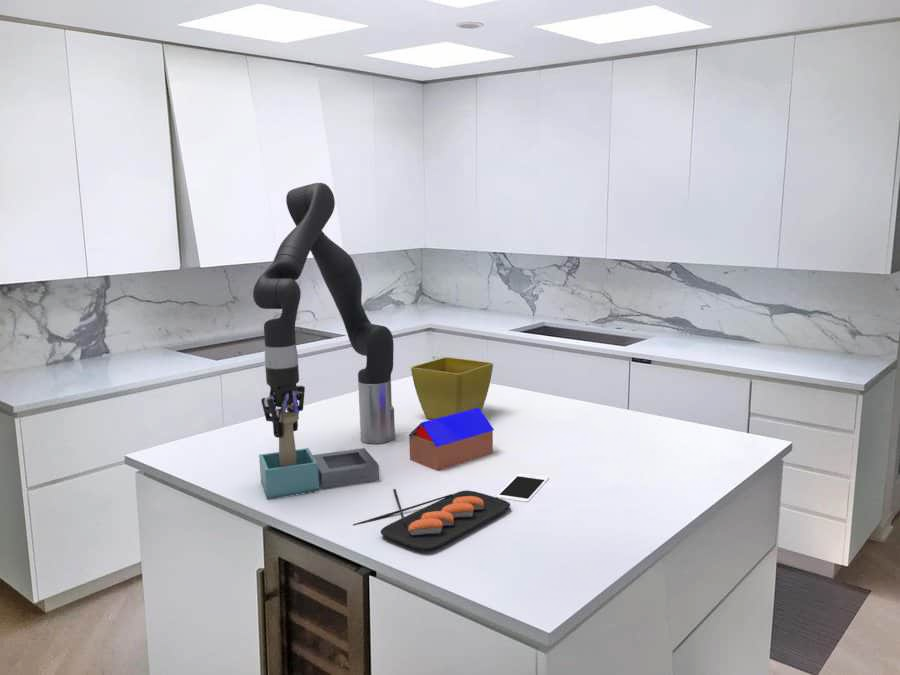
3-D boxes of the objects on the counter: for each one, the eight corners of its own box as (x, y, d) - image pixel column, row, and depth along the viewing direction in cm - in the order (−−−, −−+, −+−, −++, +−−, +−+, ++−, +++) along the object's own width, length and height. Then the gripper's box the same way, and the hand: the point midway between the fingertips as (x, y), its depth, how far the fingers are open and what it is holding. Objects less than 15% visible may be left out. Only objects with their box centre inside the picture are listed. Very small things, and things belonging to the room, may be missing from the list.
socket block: (365, 462, 197) (364, 448, 196) (379, 480, 184) (378, 465, 183) (311, 470, 192) (310, 455, 192) (322, 489, 179) (321, 473, 179)
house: (408, 460, 199) (406, 417, 196) (464, 443, 211) (463, 403, 209) (437, 472, 190) (436, 427, 188) (494, 453, 202) (494, 411, 200)
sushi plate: (427, 560, 144) (427, 541, 143) (324, 520, 163) (323, 503, 162) (516, 511, 166) (516, 494, 165) (415, 481, 185) (415, 466, 184)
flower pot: (446, 405, 250) (445, 356, 247) (495, 414, 239) (494, 362, 236) (410, 419, 235) (409, 367, 232) (460, 429, 224) (459, 374, 221)
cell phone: (549, 479, 183) (549, 477, 183) (527, 504, 169) (527, 501, 169) (518, 475, 187) (518, 473, 187) (495, 499, 172) (495, 496, 172)
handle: (295, 480, 178) (291, 418, 175) (271, 477, 180) (267, 416, 177) (305, 473, 182) (302, 413, 179) (283, 470, 184) (279, 411, 182)
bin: (309, 474, 189) (308, 448, 188) (319, 491, 178) (317, 463, 177) (260, 481, 185) (259, 454, 184) (267, 499, 174) (265, 470, 173)
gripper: (275, 371, 168) (280, 444, 171) (312, 358, 181) (316, 427, 184) (248, 369, 171) (254, 441, 174) (287, 356, 184) (291, 423, 187)
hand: (286, 433), depth 179 cm, fingers closed on handle, 5 cm apart
